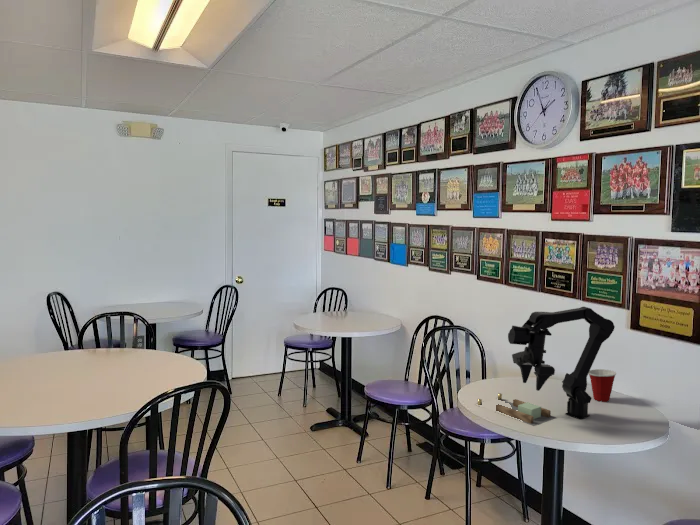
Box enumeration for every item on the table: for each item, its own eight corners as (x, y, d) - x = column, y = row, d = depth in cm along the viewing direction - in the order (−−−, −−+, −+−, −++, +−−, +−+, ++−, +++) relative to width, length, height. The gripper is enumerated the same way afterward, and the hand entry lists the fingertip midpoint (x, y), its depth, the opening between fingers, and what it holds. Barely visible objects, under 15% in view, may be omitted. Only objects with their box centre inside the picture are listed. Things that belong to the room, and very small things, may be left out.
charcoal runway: (556, 418, 201) (556, 417, 201) (533, 426, 193) (533, 425, 193) (497, 398, 224) (497, 397, 224) (474, 404, 215) (474, 404, 215)
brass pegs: (502, 399, 221) (502, 394, 221) (479, 406, 213) (479, 400, 213) (499, 398, 223) (499, 393, 222) (476, 405, 214) (476, 399, 214)
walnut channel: (550, 417, 202) (550, 410, 202) (530, 423, 195) (530, 417, 195) (515, 405, 215) (515, 399, 215) (495, 411, 208) (495, 405, 208)
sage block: (541, 416, 202) (541, 406, 201) (531, 420, 198) (531, 409, 198) (527, 412, 207) (527, 402, 206) (517, 415, 203) (518, 405, 203)
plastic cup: (588, 393, 229) (589, 366, 228) (616, 398, 224) (617, 370, 223) (584, 401, 220) (585, 372, 219) (613, 405, 215) (615, 376, 214)
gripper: (504, 339, 207) (499, 378, 208) (530, 350, 189) (524, 393, 190) (530, 340, 209) (525, 379, 210) (558, 352, 191) (552, 394, 192)
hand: (531, 386), depth 200 cm, fingers open, 9 cm apart
